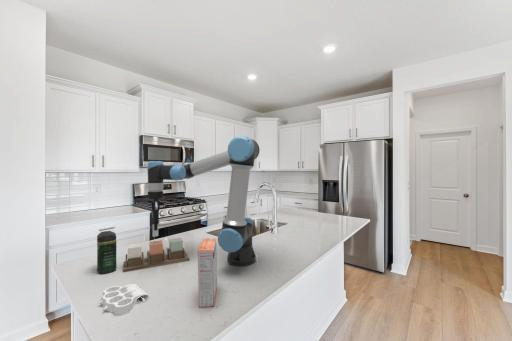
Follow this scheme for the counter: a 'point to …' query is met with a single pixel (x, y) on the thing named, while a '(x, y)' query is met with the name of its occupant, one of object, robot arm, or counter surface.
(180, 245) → the sage key
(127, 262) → the board
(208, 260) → the cracker box
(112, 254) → the coffee jar
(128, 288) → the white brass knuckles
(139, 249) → the cream key
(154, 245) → the terracotta key
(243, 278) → the counter surface
